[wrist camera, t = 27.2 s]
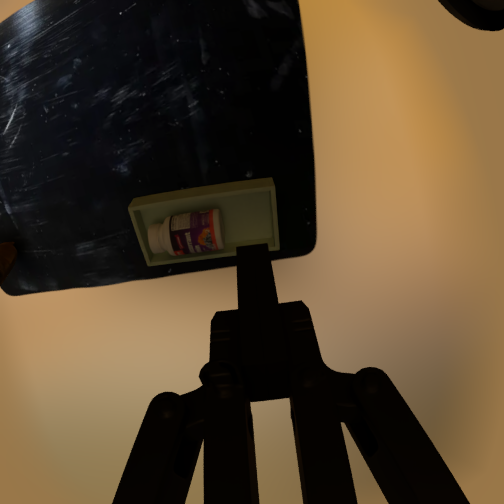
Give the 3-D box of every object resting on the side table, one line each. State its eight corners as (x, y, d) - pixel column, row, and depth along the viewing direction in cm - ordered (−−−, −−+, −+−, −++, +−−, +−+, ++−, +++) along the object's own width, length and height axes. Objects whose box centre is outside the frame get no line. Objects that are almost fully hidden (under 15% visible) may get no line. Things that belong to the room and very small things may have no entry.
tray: (272, 177, 40) (275, 185, 37) (276, 238, 45) (279, 249, 43) (133, 198, 40) (127, 207, 37) (151, 254, 45) (147, 266, 43)
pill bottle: (226, 257, 40) (157, 267, 41) (225, 228, 44) (160, 238, 44) (219, 228, 36) (142, 240, 36) (218, 199, 40) (148, 211, 40)
